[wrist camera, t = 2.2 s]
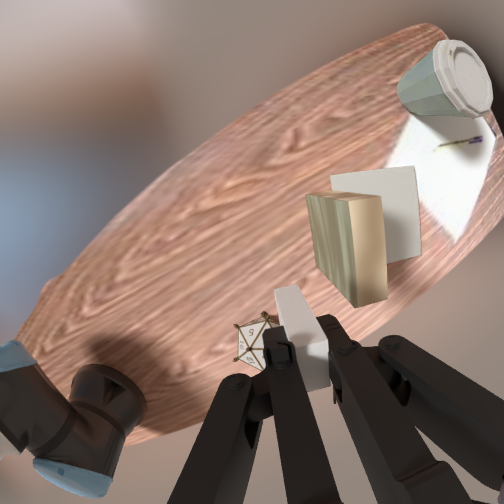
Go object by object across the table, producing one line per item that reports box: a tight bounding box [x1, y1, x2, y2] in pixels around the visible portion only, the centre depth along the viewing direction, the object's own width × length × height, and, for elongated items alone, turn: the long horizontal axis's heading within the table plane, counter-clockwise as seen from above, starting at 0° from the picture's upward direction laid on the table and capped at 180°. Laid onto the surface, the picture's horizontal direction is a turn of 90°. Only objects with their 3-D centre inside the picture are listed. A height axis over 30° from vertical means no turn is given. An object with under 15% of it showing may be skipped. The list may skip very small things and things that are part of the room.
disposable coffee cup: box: [397, 40, 493, 119], centre depth 25 cm, size 11×11×15 cm
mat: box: [330, 166, 421, 264], centre depth 37 cm, size 14×14×1 cm
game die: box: [233, 311, 280, 371], centre depth 36 cm, size 9×8×10 cm
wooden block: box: [306, 190, 387, 308], centre depth 30 cm, size 4×10×14 cm, turn 11°
